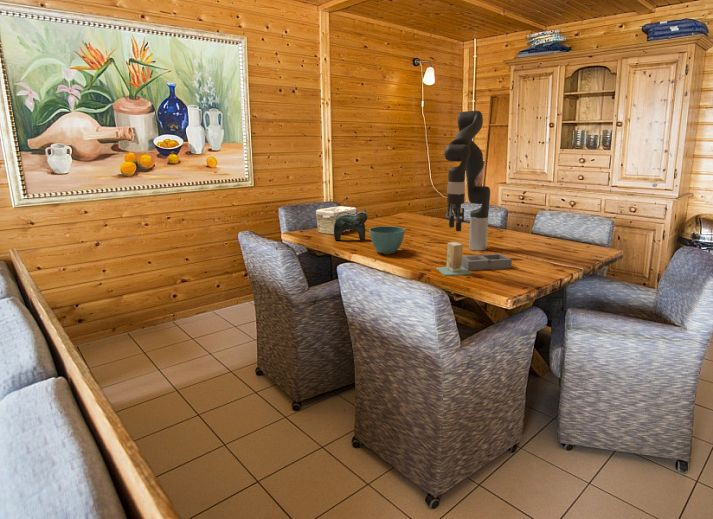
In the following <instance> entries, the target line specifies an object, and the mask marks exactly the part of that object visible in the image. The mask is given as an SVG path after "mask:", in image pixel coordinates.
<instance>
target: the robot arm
mask: <svg viewBox="0 0 713 519" xmlns="http://www.w3.org/2000/svg"><path fill="white" fill-rule="evenodd" d="M483 118H484V117H483V114H482V112H481V111H480V110H468V111H461V112H459V113H458V114H457V127H458V128H457V129H458V132H457V134H456V136H455V137H454V139H453V140H452V141H451V142H449V143H448V144H447V146H446V147H445V148H444V158H445V160H446V161H448V162H453V163H454V162H456V163H457V162H460V164H459V165H458V166H454V167H453V166H452V167H450V168H448V177H447V178H448V181H447V188H446V190H447V191H446V192H447V193H446V195H447V196H446V203H447V213H446V217H447V218H448V228H451V229H452V228H455V231H456V232H461V231H462V223H463V222H464V221H465V208H464V207H462V205H463V204H465V203H466V198H465V197H466V188H467V198H468V202H469V203H471V204H473V205H474V204H475V205H477V204H478V205H481V206H480V207H479V208H477V209H473V210H471V211H470V213H469V215H470V216H469V232H468V233H469V235H468V237H469V238H468V239H469V240H468V249H469V250H471V251H486V250H487V246H488V244H487V243H488V230H489V229H488V227H489V226H488V225H489V212H490V200H491V188H490V187H489V186H487V185H486V186H485V185H476V180H477V178H478V176H479V175H480V173H481V171H482V170H483V168H484V155H483V152H482V150H481V148H480V147H479V146H478V145H477V144H476V142H474V138H475V137H476V136H477V135H478V133H479V132H480V131H481V129H482V128H483V125H484V123H483V122H484V121H483V120H484V119H483Z"/></svg>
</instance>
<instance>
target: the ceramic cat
mask: <svg viewBox="0 0 713 519" xmlns="http://www.w3.org/2000/svg"><path fill="white" fill-rule="evenodd" d="M350 207H351V208H352V207H353V208H356V209H357V211H356V213H355V214H356V215H354V214H350V213H348V214H346V215H341V216H339V217H338V218H337V216H338V215H339V214H342V213H347V212H342V213H339V214H338V215H337V216H336V218H337V219H336V222H335V224H334V234H333V236H334V241H335V240H340V241H341V238H342V233H344V232H343V231H345V230H352V231H356V232H357V235H358V237H359V241H360V240H365V241H366V224H365V223H366V222H367V220H368V218H369V215H368V212H367V210H366V209H363V210H362V211H358V208H357V207H356V206H354V205H353V206H350Z"/></svg>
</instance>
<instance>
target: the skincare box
mask: <svg viewBox="0 0 713 519" xmlns="http://www.w3.org/2000/svg"><path fill="white" fill-rule="evenodd" d="M463 247H464V246H463V244H461V243H459V242H457V241H453V242H452V241H451V242H447V249H446V250H447V251H446V266H445V267H446V269H448V270H450V271H452V272H459V271H461V263H462V256H463Z"/></svg>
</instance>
